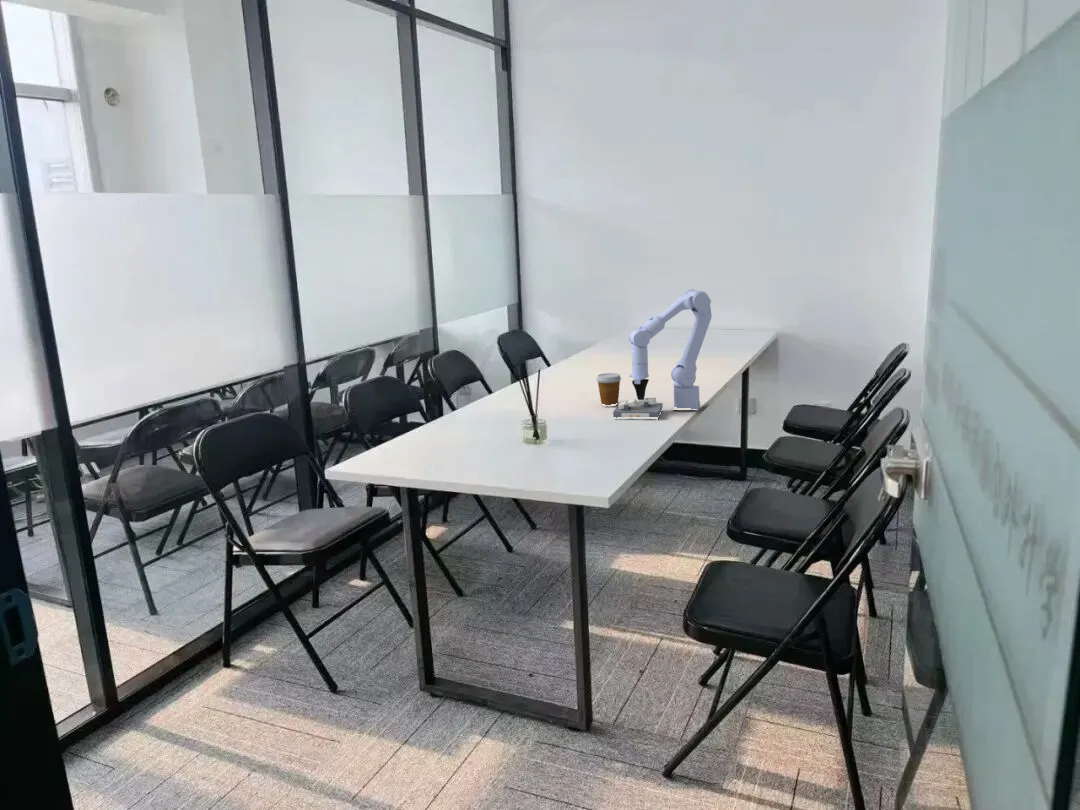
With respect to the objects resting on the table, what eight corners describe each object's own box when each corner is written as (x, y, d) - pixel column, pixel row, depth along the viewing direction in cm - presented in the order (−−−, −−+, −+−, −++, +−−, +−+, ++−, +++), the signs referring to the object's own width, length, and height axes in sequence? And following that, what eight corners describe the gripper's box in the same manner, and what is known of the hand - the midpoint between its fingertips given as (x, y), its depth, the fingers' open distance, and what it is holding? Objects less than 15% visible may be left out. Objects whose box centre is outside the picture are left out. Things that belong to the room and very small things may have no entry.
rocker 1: (636, 402, 287) (635, 398, 287) (635, 405, 284) (633, 401, 283) (621, 406, 289) (619, 402, 289) (619, 409, 286) (617, 405, 285)
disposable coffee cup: (595, 408, 304) (593, 377, 301) (600, 402, 312) (599, 372, 310) (619, 408, 301) (618, 377, 298) (624, 402, 309) (623, 372, 307)
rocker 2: (656, 401, 290) (655, 397, 290) (654, 404, 287) (654, 399, 286) (640, 402, 292) (639, 397, 292) (638, 404, 288) (638, 400, 288)
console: (662, 410, 293) (662, 397, 292) (657, 420, 280) (657, 406, 279) (620, 410, 297) (619, 397, 296) (613, 419, 284) (612, 406, 283)
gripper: (632, 359, 295) (633, 394, 298) (625, 366, 281) (626, 403, 284) (651, 359, 293) (651, 395, 296) (645, 366, 279) (646, 403, 282)
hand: (640, 399), depth 290 cm, fingers closed
